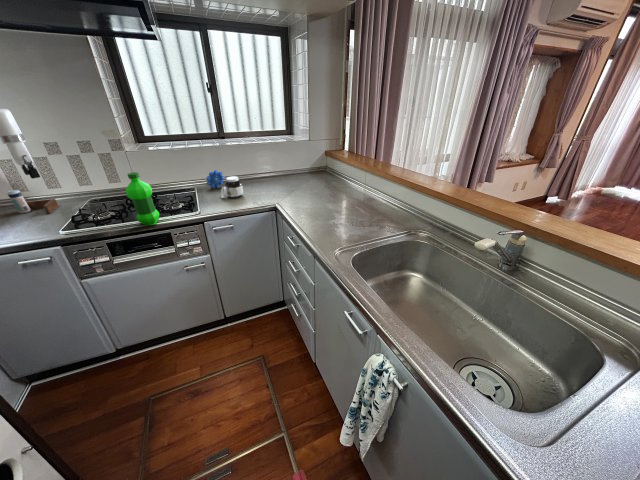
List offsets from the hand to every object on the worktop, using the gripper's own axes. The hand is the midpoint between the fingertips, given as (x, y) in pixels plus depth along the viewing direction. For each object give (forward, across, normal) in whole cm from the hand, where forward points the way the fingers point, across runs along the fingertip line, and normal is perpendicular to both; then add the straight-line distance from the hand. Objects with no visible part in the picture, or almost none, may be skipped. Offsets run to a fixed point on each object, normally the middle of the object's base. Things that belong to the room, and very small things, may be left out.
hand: (33, 176), depth 129 cm
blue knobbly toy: (+21, +32, +77) cm, 86 cm away
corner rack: (+21, -14, -4) cm, 26 cm away
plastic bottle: (+21, +50, +24) cm, 60 cm away
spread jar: (+21, +55, +71) cm, 92 cm away
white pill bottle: (+22, -19, -8) cm, 30 cm away
